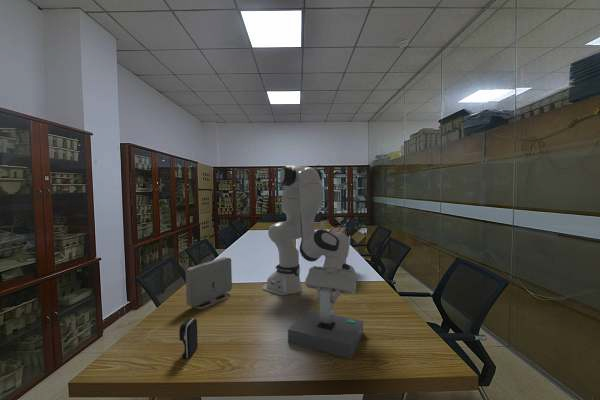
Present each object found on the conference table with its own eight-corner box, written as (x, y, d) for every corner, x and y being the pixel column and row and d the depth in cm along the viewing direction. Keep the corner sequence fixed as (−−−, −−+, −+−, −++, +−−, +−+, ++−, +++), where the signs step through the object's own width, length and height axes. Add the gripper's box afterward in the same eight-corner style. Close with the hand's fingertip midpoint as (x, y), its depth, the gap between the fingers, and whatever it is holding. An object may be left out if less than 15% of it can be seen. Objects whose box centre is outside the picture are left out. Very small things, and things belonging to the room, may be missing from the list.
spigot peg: (320, 321, 103) (319, 290, 103) (323, 317, 107) (323, 287, 106) (330, 324, 102) (329, 292, 101) (333, 319, 105) (333, 288, 105)
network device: (194, 312, 127) (193, 270, 126) (183, 308, 132) (181, 267, 131) (235, 294, 149) (234, 257, 148) (223, 291, 153) (222, 255, 152)
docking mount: (288, 342, 102) (287, 328, 101) (307, 320, 118) (307, 308, 118) (351, 359, 91) (351, 343, 91) (363, 332, 108) (363, 319, 107)
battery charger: (188, 347, 100) (187, 316, 99) (198, 347, 99) (197, 316, 99) (178, 359, 93) (177, 326, 92) (189, 359, 92) (188, 326, 92)
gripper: (308, 261, 114) (298, 293, 106) (356, 267, 105) (350, 301, 97) (312, 269, 118) (303, 300, 110) (359, 275, 109) (353, 308, 101)
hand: (326, 301), depth 103 cm, fingers closed on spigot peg, 4 cm apart
